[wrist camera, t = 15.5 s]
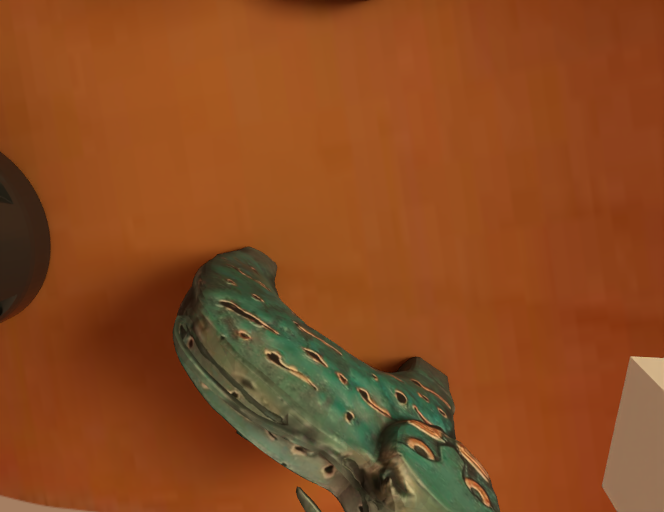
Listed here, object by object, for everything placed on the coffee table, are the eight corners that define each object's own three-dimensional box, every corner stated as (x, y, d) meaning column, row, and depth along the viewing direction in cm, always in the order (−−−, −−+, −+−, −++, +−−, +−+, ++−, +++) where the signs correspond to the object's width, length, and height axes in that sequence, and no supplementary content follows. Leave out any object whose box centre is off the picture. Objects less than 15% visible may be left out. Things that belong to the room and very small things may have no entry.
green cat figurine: (476, 378, 40) (541, 607, 21) (422, 440, 42) (437, 706, 23) (251, 220, 40) (108, 307, 21) (206, 290, 42) (33, 430, 22)
